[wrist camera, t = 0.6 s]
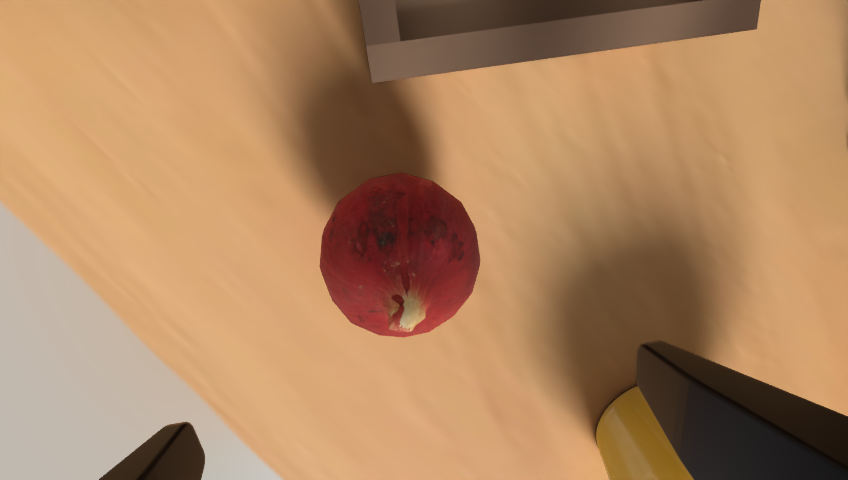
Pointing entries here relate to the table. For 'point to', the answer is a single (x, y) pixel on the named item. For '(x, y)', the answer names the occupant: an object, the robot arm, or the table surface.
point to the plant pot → (636, 442)
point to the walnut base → (529, 30)
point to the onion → (399, 255)
